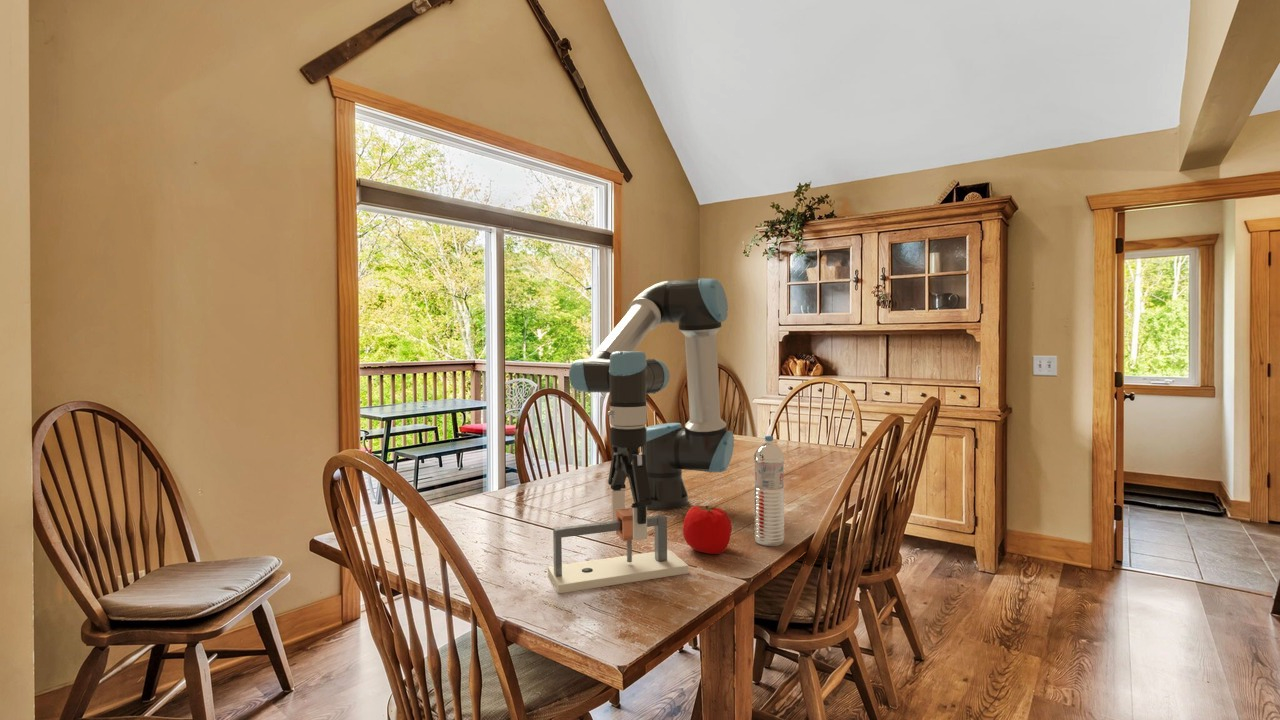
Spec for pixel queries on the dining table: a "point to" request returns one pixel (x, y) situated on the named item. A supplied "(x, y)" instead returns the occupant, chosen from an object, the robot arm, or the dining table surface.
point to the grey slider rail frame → (609, 526)
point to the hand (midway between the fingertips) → (628, 529)
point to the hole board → (615, 571)
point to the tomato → (707, 529)
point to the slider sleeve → (626, 529)
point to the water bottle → (769, 494)
